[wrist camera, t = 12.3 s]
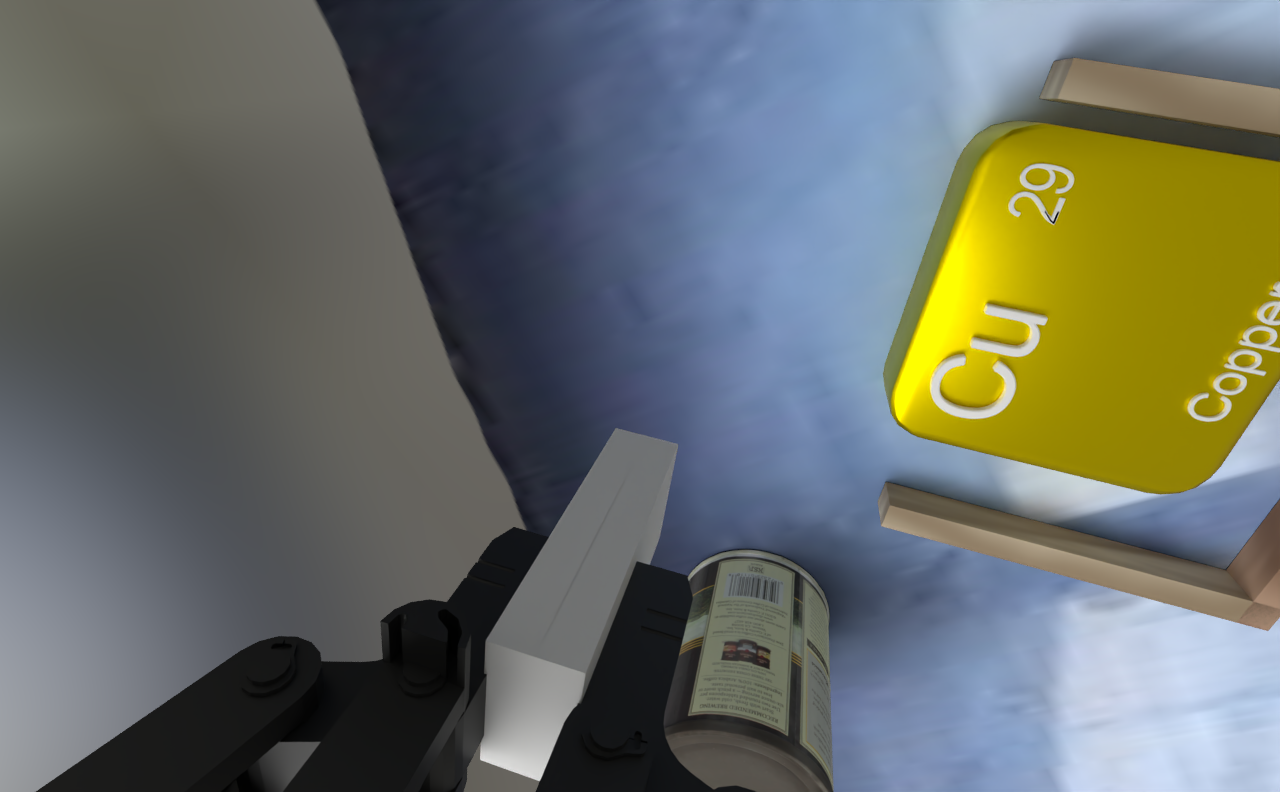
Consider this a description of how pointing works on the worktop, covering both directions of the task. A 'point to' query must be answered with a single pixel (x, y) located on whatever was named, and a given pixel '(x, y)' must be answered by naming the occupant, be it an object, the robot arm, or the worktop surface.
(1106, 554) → the wooden bay
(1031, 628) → the worktop surface
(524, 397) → the worktop surface
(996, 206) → the element tile
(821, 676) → the coffee can
